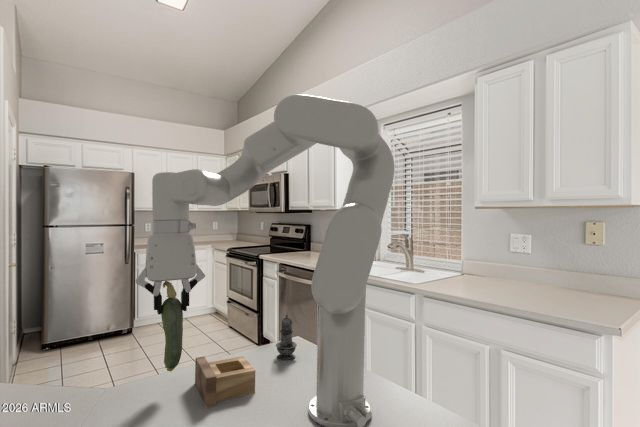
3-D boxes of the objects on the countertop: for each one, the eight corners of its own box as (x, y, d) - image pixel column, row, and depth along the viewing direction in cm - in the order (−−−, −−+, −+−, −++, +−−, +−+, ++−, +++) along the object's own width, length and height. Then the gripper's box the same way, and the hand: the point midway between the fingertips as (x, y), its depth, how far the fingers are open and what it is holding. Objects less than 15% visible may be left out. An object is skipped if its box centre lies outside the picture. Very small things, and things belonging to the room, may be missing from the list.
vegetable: (186, 368, 80) (185, 279, 80) (177, 376, 76) (176, 282, 76) (167, 367, 80) (167, 279, 81) (157, 375, 76) (156, 282, 76)
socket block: (254, 392, 79) (255, 370, 79) (214, 402, 75) (214, 378, 75) (242, 376, 87) (243, 356, 87) (205, 384, 83) (205, 362, 83)
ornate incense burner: (282, 352, 104) (283, 311, 104) (300, 355, 101) (301, 313, 101) (271, 359, 99) (272, 315, 99) (289, 363, 96) (290, 318, 96)
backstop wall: (215, 405, 74) (216, 376, 74) (205, 407, 73) (206, 378, 73) (203, 381, 84) (204, 356, 84) (194, 383, 83) (195, 357, 83)
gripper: (206, 227, 86) (207, 303, 86) (127, 229, 78) (128, 313, 77) (213, 227, 80) (214, 309, 79) (128, 229, 71) (128, 321, 71)
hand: (171, 310), depth 78 cm, fingers closed on vegetable, 4 cm apart
